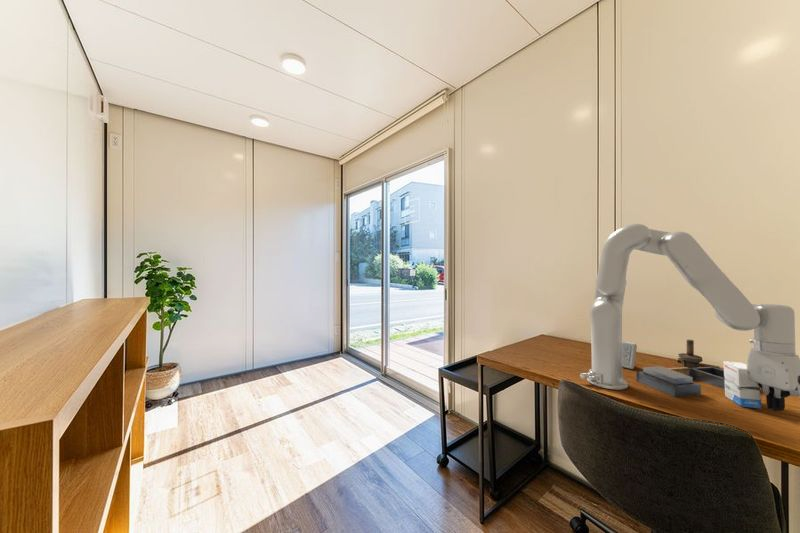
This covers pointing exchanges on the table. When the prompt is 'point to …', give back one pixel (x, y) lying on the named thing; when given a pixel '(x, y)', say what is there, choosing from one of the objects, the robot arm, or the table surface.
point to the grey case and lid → (680, 379)
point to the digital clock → (628, 354)
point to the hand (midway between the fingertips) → (775, 409)
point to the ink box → (740, 385)
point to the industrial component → (690, 356)
